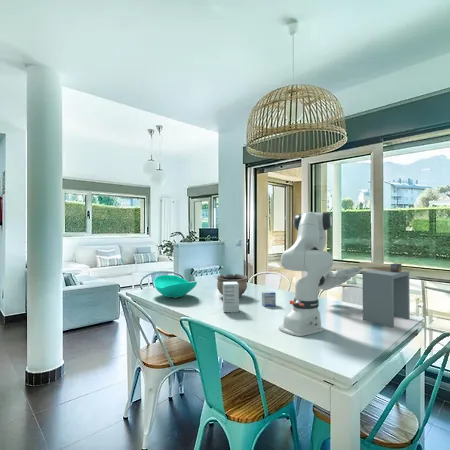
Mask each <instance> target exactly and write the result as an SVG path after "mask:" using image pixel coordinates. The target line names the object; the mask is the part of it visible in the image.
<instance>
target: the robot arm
mask: <svg viewBox="0 0 450 450" xmlns="http://www.w3.org/2000/svg"><path fill="white" fill-rule="evenodd" d="M333 221H334V220H333V217H332V215H331V213H330V212H326V211H323V212H314V211H307V212H304V213H297V214H296V215H295V216H294V218H293V226H294V229H295V230H296V231H297V234H296V235H297V236H296V240H295V242H294V243H293V244H292V246H290V247H289V248H287V249H286V250H284V251H283V252H282V254H281V255H280V264H281V267H282V268H283V269H284V270H289V271H294V272H307V275H306V276H303V277H301V278H299V279H298V280H297V281H296V282H295V284H294V298H293V300H291V299H290V300H289V305H292V307H291V308H290V310H289V311H287V313H286V314H285V315H284V318H283V324H282V325H280V326H278V330H279V331H281V332H283V333H286V334H288V335H292V336H296V337H303V336H309V335H313V334H317V333H322V332H324V328H323V327H322V320H321V319H322V318H321V313H320V311H319V306H320V305H319V304H320V302H319V297H318V296H319V295H318V293H319V292H318V291H319V289H320V290H322V291H328V290H331V289H334V288H336V286H339V285H340V286H341V285H343V284H345V283H346V282H348V281H349V280H351V279H352V278H353V277H355V276H357V275H359V274H360V273H361V272H362V271H361V270H362V269H364V268H362V267H360V265H359V266H355V267H351V268H345V269H341V268H340V269H339V268H338V269H336V270H334V271H333V270H332V267H333V265H334V258H333V256H332V254H331V253H330V252H329V251H327V250H325V247H326V244H327V231H328V230H330V229H331V228H332V226H333Z"/></svg>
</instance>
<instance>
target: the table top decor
mask: <svg viewBox="0 0 450 450" xmlns="http://www.w3.org/2000/svg"><path fill="white" fill-rule="evenodd" d="M153 283H154V286H155V287H154V288H155V290H156V291H157V292H158V293H160V294H161V295H162V296H164V297H168V298H170V297H180V298H182V297H183V296H185V295H186V294H188V293H190V292H191V291H192V290H193V289H194V288H195V287H196V286H197V283H198V281H188V280H186V279H184V278H183V277H180V276H178V275H174V274H165V275H159V276H157V277H155V279H154V282H153Z"/></svg>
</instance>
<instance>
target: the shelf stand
mask: <svg viewBox="0 0 450 450" xmlns="http://www.w3.org/2000/svg"><path fill="white" fill-rule="evenodd" d="M361 272H362V320H363V321H365V322H368V323H369V322H370V323H373V324H377V325H381V326H384V327H390V328H394V327H395V317H396V318H399V319H405V320H409V319H410V318H411V315H410V308H411V307H410V303H411V302H410V270H402V269H401V271H400V272H391V271H385V270H377V269H369V270H367V271H361Z"/></svg>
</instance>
